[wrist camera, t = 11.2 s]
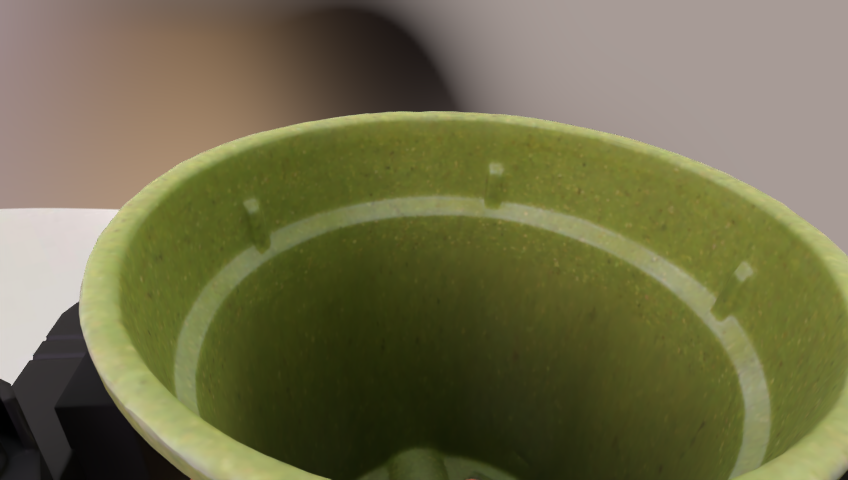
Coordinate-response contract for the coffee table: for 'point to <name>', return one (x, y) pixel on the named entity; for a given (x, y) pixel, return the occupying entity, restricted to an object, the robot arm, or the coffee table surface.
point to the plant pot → (469, 310)
